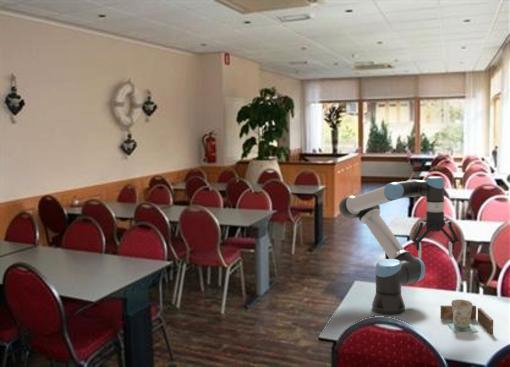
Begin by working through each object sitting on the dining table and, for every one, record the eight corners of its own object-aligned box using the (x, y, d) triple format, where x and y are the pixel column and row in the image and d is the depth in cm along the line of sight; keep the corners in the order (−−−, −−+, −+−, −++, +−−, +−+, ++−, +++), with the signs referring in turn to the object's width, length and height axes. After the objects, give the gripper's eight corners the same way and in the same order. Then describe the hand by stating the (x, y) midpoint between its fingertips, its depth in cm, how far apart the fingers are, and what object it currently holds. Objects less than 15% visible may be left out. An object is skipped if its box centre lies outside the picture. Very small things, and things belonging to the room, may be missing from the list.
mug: (475, 324, 210) (475, 302, 209) (464, 333, 201) (464, 310, 200) (455, 320, 216) (455, 298, 215) (444, 328, 207) (444, 306, 206)
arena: (452, 334, 202) (452, 320, 202) (440, 318, 219) (440, 305, 219) (493, 334, 201) (493, 320, 200) (477, 318, 218) (478, 305, 217)
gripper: (408, 212, 218) (408, 259, 220) (466, 211, 215) (466, 258, 217) (405, 210, 225) (405, 255, 227) (460, 209, 223) (460, 254, 225)
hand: (434, 256), depth 222 cm, fingers open, 13 cm apart
